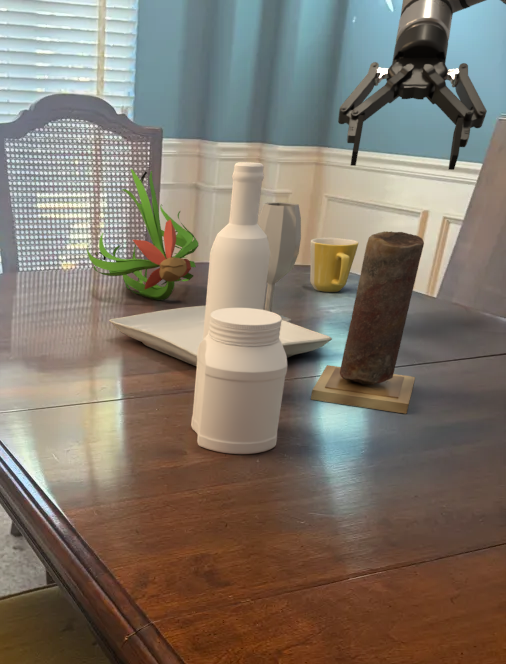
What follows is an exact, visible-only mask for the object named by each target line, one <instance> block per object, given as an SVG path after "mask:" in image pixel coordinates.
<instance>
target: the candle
mask: <svg viewBox="0 0 506 664" xmlns="http://www.w3.org/2000/svg"><path fill="white" fill-rule="evenodd" d="M365 245H366V246H365V249H364V255H363V259H362V260H363V261H362V265H361V270H360V275H359V280H358V284H357V289H356V294H355V299H354V304H353V307H352V314H351V318H350V323H349V326H348V327H349V328H348V332H347V337H346V341H345V345H344V350H343V355H342V359H341V364H340V367H341V369H340V375H341V377H342V378H344V379H350V380H352V381H355V382H359V383H361V384H366V385H374V384H376V383H382V382H384V381H386V380H389V379H391V378H393V374H395V373H394V372H395V369H396V365H397V360H398V356H399V352H400V349H401V344H402V339H403V335H404V330H405V326H406V322H407V318H408V313H409V308H410V304H411V299H412V295H413V291H414V287H415V283H416V279H417V274H418V271H419V265H420V261H421V257H422V254H423V249H424V245H425V242H424V240H423V238H422V237H421V236H419V235H416V234H413V233H412V234H411V233H408V232H404V231H384V230H383V231H381V232H377V233H374V234H371V235H370V236H369V237H368V239H367V242H366V244H365Z"/></svg>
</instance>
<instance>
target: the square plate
mask: <svg viewBox="0 0 506 664" xmlns="http://www.w3.org/2000/svg"><path fill="white" fill-rule="evenodd" d="M205 309H206V305H197V306H186V307H177V308H172V309H163V310H157V311H151V312H145V313H139V314H135V315H133V314H132V315H128V316H122V317H116V318H111V319H109V320H108V322H110V323H111V324H112V326H114V328H116V330H118V331H119V333H122V334H123V335H125V336H127V337H129V338H130V339H134V340H135V341H138V342H142V344H143V345H144V346H146V347H148V348H151V349H153V350H155V351H158V352H160V353H163V354H165V355H168V356H170V357H173V358H175V359H178V360H180V361H182V362H185V363H187V364H188V365H189V364H190V365H192V366H194V367H197V350H198V347H199V344H200V343H201V342H202V341H203V333H204V321H205ZM280 328H281V330H280V336H279V337H280V341H281V343H282V345H283V348H284V350H285V353H286V356H287V359H289V358H290V357H293V356H295V355H299V354H304V353H308V352H312V351H315V350H318V349H320V348H322V347H324V346H325V345H327V344H328V343H329V342H330V341H332V340H333V338H332V337H331V336H329V335H327V334H323V333H320V332H317V331H315V330H311V329H310V328H309V329H308V328H306V327H303V326H300V325H297V324H295V323H292V322H291V323H289V322H286V321H284V320H282V321H281V327H280Z"/></svg>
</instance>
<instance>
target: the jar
mask: <svg viewBox="0 0 506 664" xmlns="http://www.w3.org/2000/svg"><path fill="white" fill-rule="evenodd" d="M279 315H280V314H277V313H276V312H273V311H272V312H270V311H265V310H264V309H263V310H260V309H252V308H224V309H219V310H215V311H213V312H212V313H211V314H210V326H209V333H208V335H207V336H206V337H205V338H204V339H203V341H202V342H201V343H200V344H199V347H198V350H197V366H196V371H195V383H194V395H193V406H192V416H191V424H190V427H191V429H192V431H194V432H195V433H196V435H197V438H196V439H197V440H196V442H197V446H199V447H201V448H203V449H206V450H209V451H212V452H213V451H214V452H217V453H222V454H230V455H254V454H259V453H264V452H267V451H269V450H272V449H274V448H275V447H276V445H277V442H278V441H277V440H278V429H279V423H280V422H279V421H280V414H281V409H282V407H281V406H282V400H283V394H284V387H285V380H286V376H287V373H288V372H287V371H288V358H287V356H286V353H285V350H284V348H283V345H282V343H281V341H280V337H279V336H280V330H281V328H280V327H281V321H282V318H281V317H280V316H279Z"/></svg>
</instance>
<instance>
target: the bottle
mask: <svg viewBox="0 0 506 664" xmlns="http://www.w3.org/2000/svg"><path fill="white" fill-rule="evenodd" d="M264 168H265V165H264V164H263V163H262V162H253V161H251V162H250V161H238V162H236V163H235V164H234V166H233V172H232V174H231V179H232V187H231V198H230V208H229V219H228V223H227V224H226V225H224V227H223V228H222V229H221V230H220V231H219V232H217V233H216V236H215V238H214V241H213V243H212V245H211V249H210V250H209V251H210V252H209V262H208V263H209V264H208V273H207V274H208V276H207V287H206V299H205V306H206V309H205V321H204V333H203V339H204V338H205V337H206V336H207V335H208V333H209V326H210V314H211V313H212V312H213V311H215V310H219V309H224V308H252V309H260V310H264V308H265V300H266V292H267V284H268V283H267V274H268V266H269V258H270V249H269V243H268V239H267V235H266V234H265V233H264V232H263V230H262V229H261V228H260V226H259V225H258V224H257V222H258V217H259V214H260V212H259V211H260V204H261V203H260V202H261V195H262V186H263V181H264V179H265V173H264Z"/></svg>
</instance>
